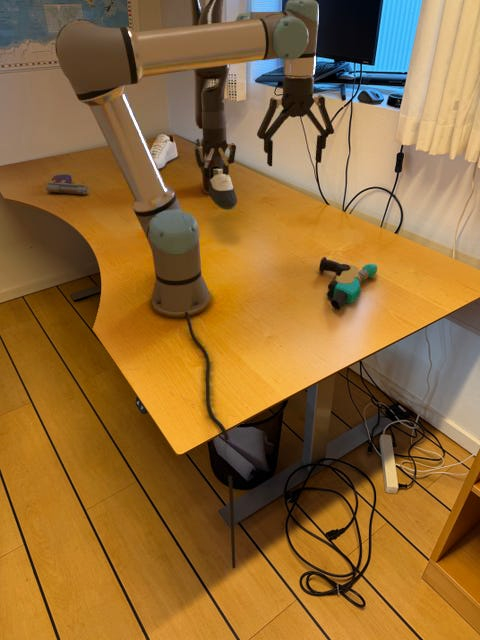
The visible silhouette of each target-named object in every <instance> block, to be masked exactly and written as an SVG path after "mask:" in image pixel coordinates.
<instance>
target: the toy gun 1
mask: <svg viewBox="0 0 480 640" xmlns="http://www.w3.org/2000/svg"><path fill="white" fill-rule="evenodd" d="M72 182H73V176H72V174H70V173H58V174H56V175H53V177H52V178H51V182H47V185H46V188H45V190H46V191H47V192H49V193H57V194H74V195H87V192H88V191H89V187H88V185H84V184H78V183H76V184H75V183H72Z"/></svg>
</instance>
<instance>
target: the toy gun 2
mask: <svg viewBox="0 0 480 640" xmlns="http://www.w3.org/2000/svg"><path fill="white" fill-rule="evenodd" d="M324 271H327V272H332V273H335V278H334V279H332V280H330V281H329V283H328V284H327V289H328V290H327V292H326V296H327V298H329V299H330V304H331V307H332V308H333V309H334V310H335V311H338V312H339V311H340V310H341V309H342V308H343V307H344V306H345V304H346V303H347V304H353V302H355V301H357V299H358V298H359V297H360V295H361V293H362V288H361V284H362V283H363V282H365V281H366V280H367V279H368V278H369V279H371V278H373V277H374V276H376V274H377V272H378V265H377V264H375V263H367V264H364V266H362V268H361V269H360V270H359V267H358V266H357V265H354V264H353V265H352V264H346V263H340V262H337V261H334V260H332V259H327V257H326V256H323V257H322V258H321V260H320V262H319V268H318V272H320V273H324Z"/></svg>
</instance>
